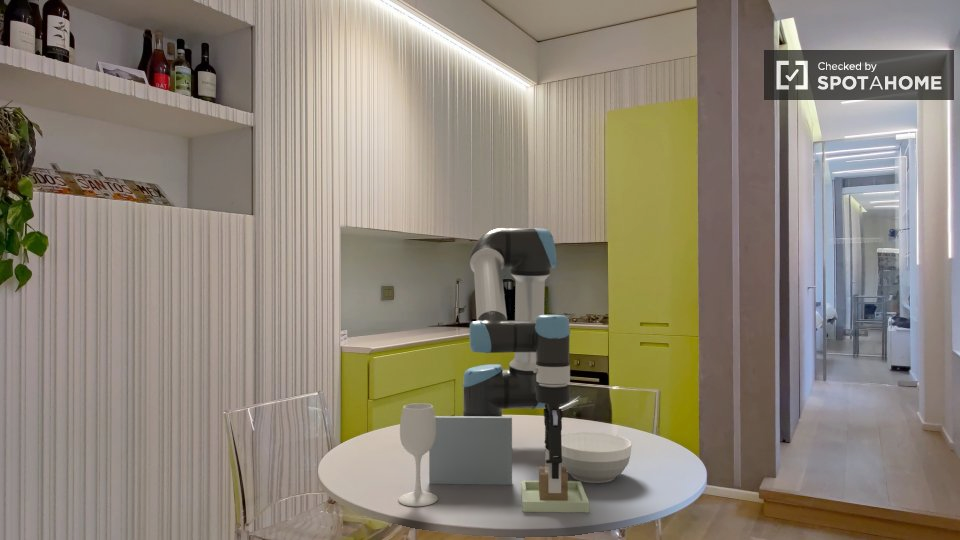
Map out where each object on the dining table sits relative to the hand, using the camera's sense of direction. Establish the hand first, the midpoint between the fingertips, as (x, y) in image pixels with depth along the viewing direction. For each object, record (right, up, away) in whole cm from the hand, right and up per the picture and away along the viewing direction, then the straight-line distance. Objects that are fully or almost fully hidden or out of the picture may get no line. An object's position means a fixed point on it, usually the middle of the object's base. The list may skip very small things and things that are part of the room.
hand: (553, 485), depth 140 cm
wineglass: (-30, -4, 0) cm, 30 cm away
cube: (0, -3, 0) cm, 3 cm away
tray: (0, -3, 0) cm, 3 cm away
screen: (-19, -4, +12) cm, 22 cm away
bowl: (+12, -4, +17) cm, 21 cm away
